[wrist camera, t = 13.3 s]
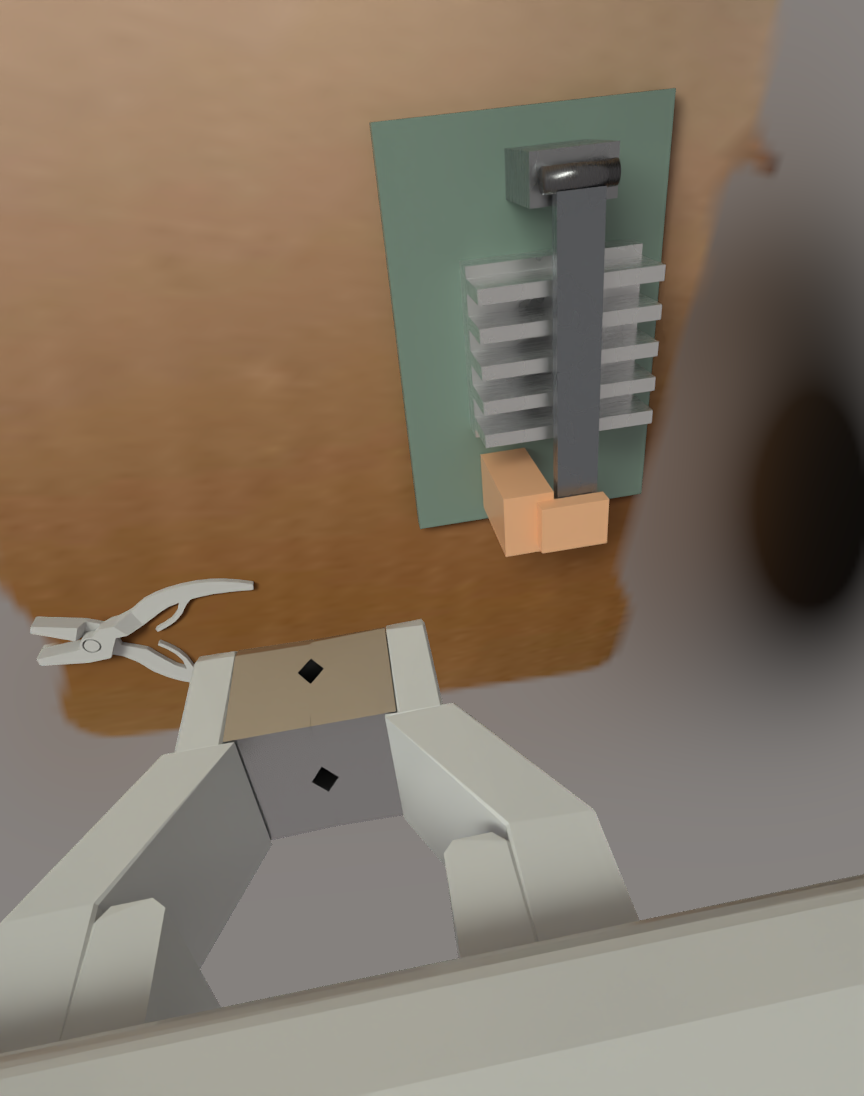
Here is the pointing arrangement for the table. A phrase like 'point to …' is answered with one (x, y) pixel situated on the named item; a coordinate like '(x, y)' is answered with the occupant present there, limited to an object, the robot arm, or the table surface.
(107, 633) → the pliers
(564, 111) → the board
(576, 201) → the strap
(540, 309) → the heatsink
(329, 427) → the table surface
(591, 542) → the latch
